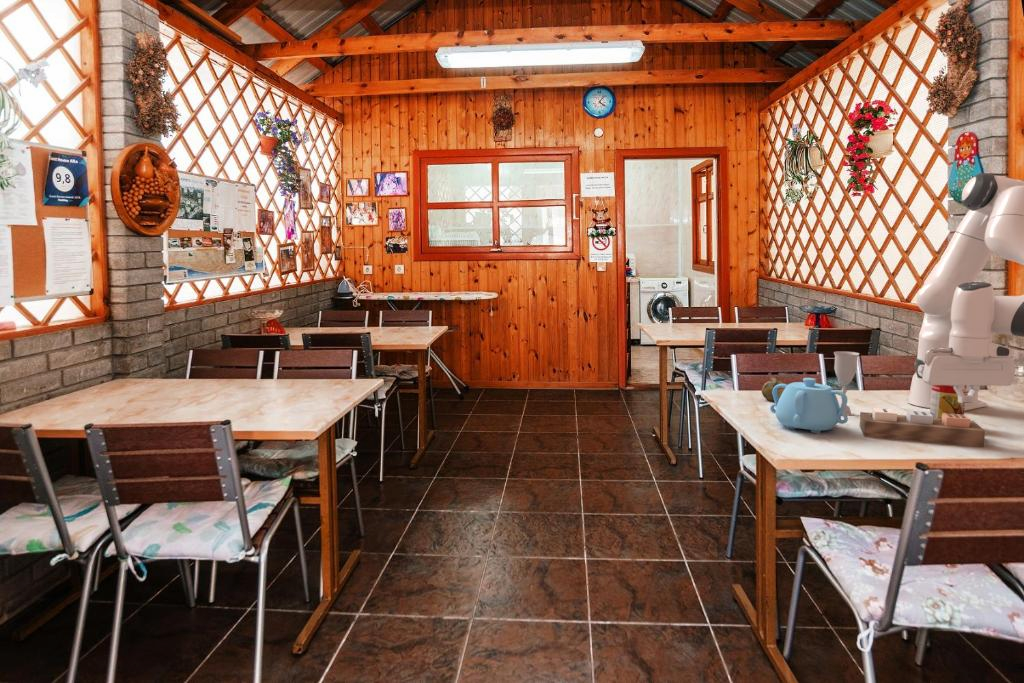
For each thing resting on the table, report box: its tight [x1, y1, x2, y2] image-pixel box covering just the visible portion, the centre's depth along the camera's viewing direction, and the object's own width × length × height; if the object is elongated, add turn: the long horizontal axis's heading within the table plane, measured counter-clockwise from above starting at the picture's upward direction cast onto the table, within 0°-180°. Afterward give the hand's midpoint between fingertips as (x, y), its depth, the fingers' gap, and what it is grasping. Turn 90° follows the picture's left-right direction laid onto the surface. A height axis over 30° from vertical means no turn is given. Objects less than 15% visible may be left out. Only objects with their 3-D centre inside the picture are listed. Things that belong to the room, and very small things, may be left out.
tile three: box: [942, 413, 971, 427], centre depth 169 cm, size 5×5×3 cm
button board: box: [858, 411, 986, 448], centre depth 172 cm, size 26×11×4 cm, turn 68°
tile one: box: [871, 407, 898, 422], centre depth 175 cm, size 5×5×3 cm
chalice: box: [833, 350, 860, 416], centre depth 196 cm, size 7×7×18 cm
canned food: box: [929, 385, 967, 418], centre depth 183 cm, size 8×8×12 cm
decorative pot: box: [769, 377, 849, 434], centre depth 180 cm, size 16×16×14 cm
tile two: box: [906, 410, 933, 424], centre depth 172 cm, size 5×5×3 cm
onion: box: [761, 376, 785, 402], centre depth 214 cm, size 8×8×8 cm
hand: (965, 402), depth 167 cm, fingers closed
